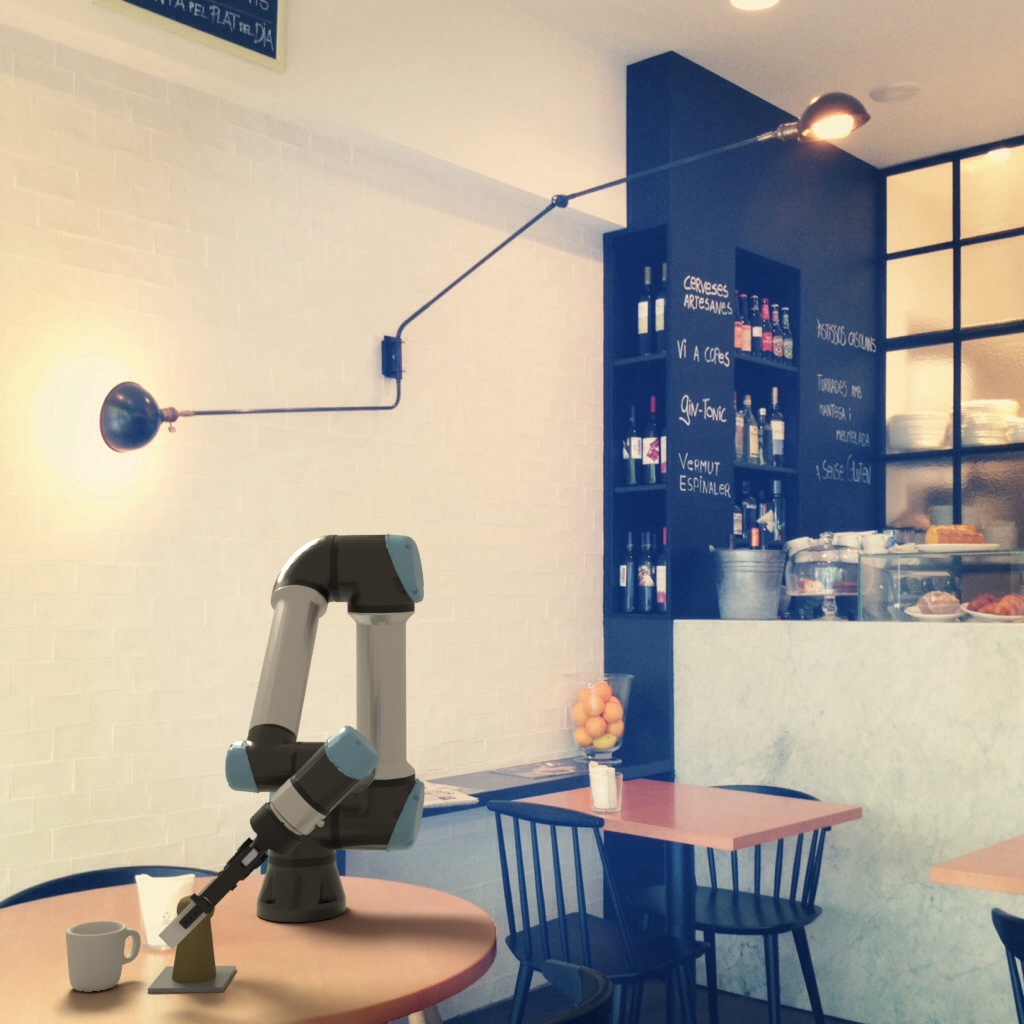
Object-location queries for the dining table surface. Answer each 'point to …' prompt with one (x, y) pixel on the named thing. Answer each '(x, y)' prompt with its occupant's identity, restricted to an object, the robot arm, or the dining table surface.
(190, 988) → the coaster
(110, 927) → the cup
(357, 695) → the robot arm
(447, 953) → the dining table surface
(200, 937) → the pepper mill
